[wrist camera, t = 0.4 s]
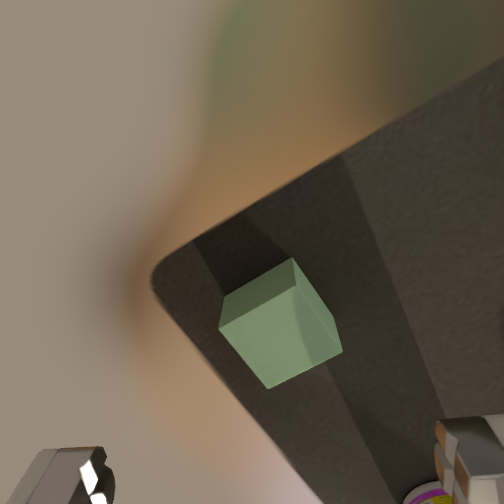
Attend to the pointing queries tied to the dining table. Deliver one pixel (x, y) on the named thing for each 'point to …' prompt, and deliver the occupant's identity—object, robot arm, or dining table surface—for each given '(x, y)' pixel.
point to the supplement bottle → (428, 495)
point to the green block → (279, 324)
